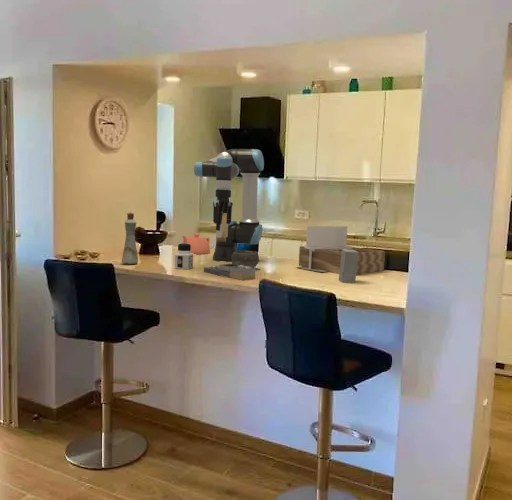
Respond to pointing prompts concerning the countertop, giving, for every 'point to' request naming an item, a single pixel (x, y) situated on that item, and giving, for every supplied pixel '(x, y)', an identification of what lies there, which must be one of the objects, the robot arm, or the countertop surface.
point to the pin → (223, 228)
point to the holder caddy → (332, 259)
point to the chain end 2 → (239, 271)
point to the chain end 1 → (216, 271)
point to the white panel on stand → (325, 240)
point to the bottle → (130, 241)
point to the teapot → (198, 244)
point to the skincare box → (348, 266)
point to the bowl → (245, 258)
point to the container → (184, 257)
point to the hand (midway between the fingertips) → (221, 237)
